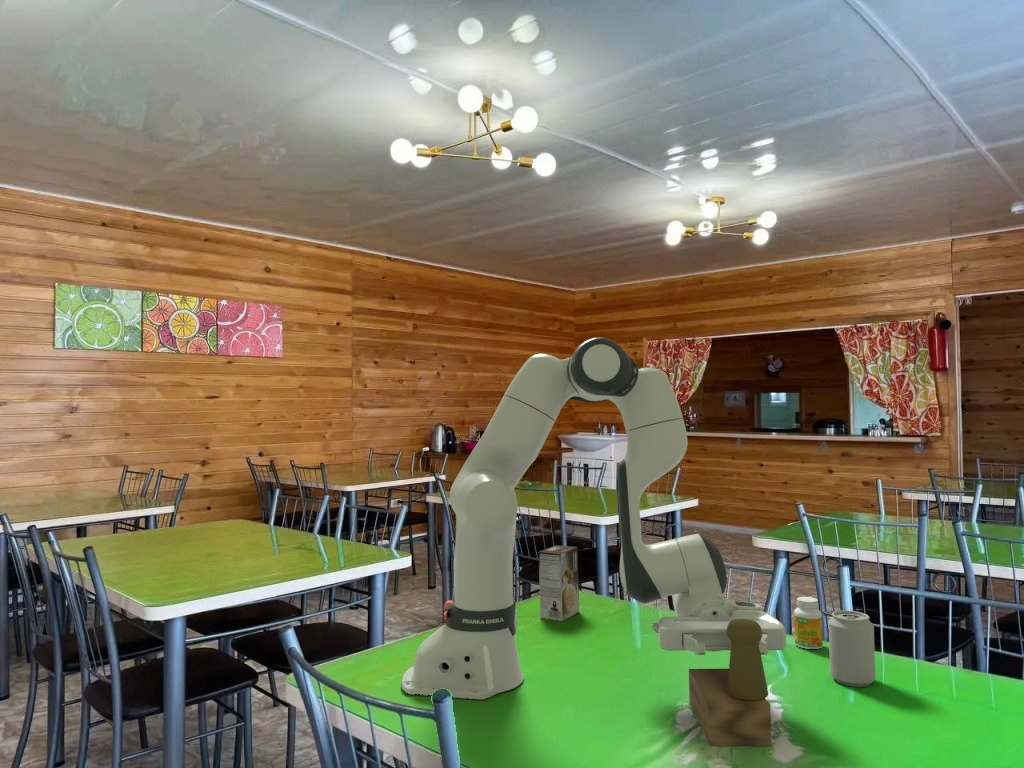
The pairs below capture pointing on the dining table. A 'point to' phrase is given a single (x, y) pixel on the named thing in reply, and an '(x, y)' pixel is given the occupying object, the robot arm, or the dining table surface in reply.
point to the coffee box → (558, 582)
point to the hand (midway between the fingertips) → (731, 649)
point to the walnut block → (727, 711)
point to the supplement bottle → (808, 623)
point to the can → (851, 648)
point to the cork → (746, 661)
